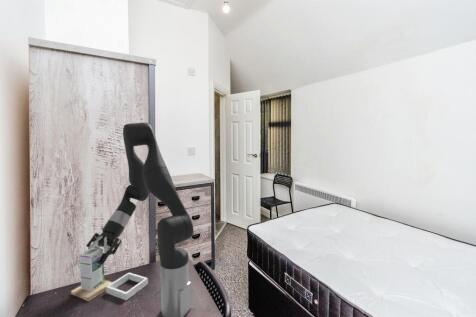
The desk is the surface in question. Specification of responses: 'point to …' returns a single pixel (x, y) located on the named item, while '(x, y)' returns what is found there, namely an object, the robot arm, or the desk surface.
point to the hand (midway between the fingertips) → (92, 261)
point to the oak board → (90, 294)
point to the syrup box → (91, 269)
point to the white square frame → (126, 295)
